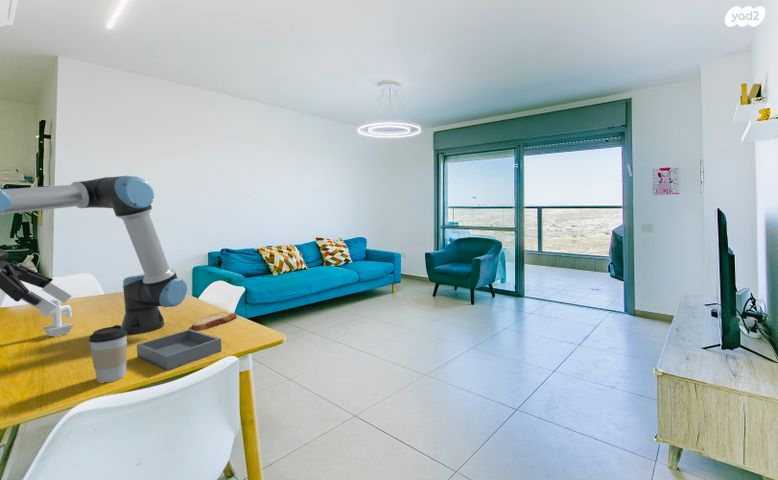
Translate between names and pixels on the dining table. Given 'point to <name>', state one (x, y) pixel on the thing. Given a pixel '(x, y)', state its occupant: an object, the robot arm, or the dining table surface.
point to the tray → (178, 349)
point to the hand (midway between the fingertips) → (61, 304)
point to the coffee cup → (109, 353)
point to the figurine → (58, 319)
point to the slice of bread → (213, 320)
